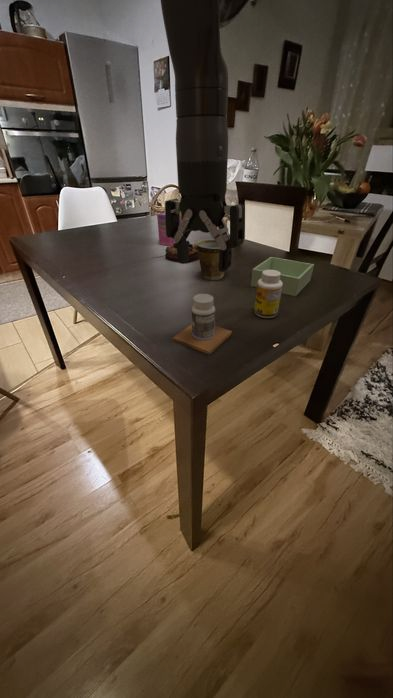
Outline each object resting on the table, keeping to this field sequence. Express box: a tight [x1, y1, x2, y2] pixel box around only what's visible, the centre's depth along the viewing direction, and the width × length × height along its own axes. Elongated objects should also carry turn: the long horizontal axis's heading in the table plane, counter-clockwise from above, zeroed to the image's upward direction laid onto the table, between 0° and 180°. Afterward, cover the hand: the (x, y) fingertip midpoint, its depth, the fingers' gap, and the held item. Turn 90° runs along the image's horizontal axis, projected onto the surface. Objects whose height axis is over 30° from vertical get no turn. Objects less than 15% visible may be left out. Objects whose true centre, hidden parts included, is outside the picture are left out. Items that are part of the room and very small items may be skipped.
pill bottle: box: [191, 293, 216, 340], centre depth 57 cm, size 5×5×8 cm
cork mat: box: [172, 323, 233, 356], centre depth 59 cm, size 9×9×1 cm
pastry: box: [164, 240, 199, 264], centre depth 102 cm, size 11×12×6 cm
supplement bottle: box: [253, 270, 283, 319], centre depth 65 cm, size 6×6×10 cm
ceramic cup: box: [195, 238, 226, 281], centre depth 87 cm, size 13×10×10 cm
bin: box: [250, 256, 315, 297], centre depth 81 cm, size 13×13×5 cm
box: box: [156, 211, 182, 247], centre depth 118 cm, size 10×6×12 cm, turn 155°
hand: (203, 266), depth 51 cm, fingers open, 8 cm apart
